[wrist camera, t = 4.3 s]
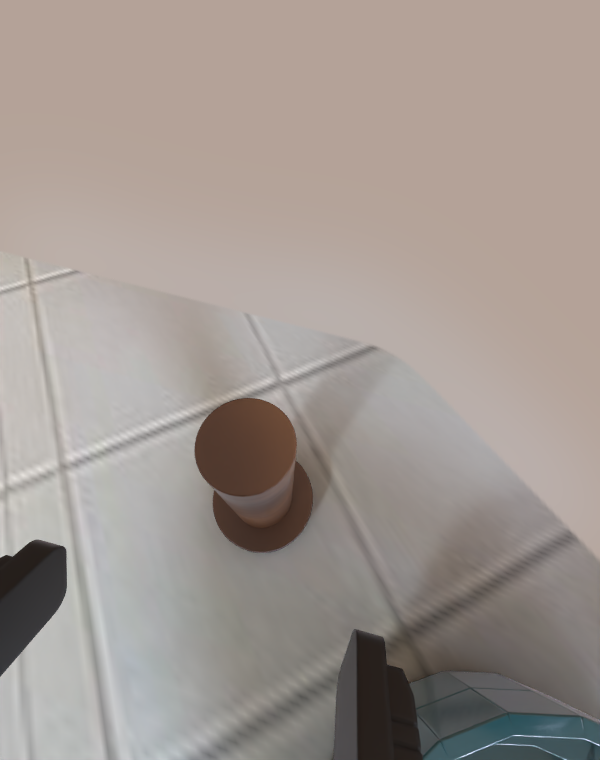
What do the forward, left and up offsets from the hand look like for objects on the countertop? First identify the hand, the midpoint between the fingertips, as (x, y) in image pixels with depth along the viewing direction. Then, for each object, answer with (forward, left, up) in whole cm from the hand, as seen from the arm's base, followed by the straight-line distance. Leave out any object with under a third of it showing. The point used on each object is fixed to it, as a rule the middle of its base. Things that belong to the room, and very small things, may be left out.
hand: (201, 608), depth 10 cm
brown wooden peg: (-2, -4, -10) cm, 11 cm away
